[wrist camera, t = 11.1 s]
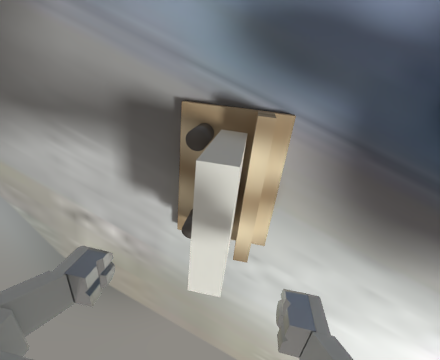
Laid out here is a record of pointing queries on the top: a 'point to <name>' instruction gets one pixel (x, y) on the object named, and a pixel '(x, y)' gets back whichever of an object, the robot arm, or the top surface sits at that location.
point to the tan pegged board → (251, 170)
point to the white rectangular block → (214, 210)
